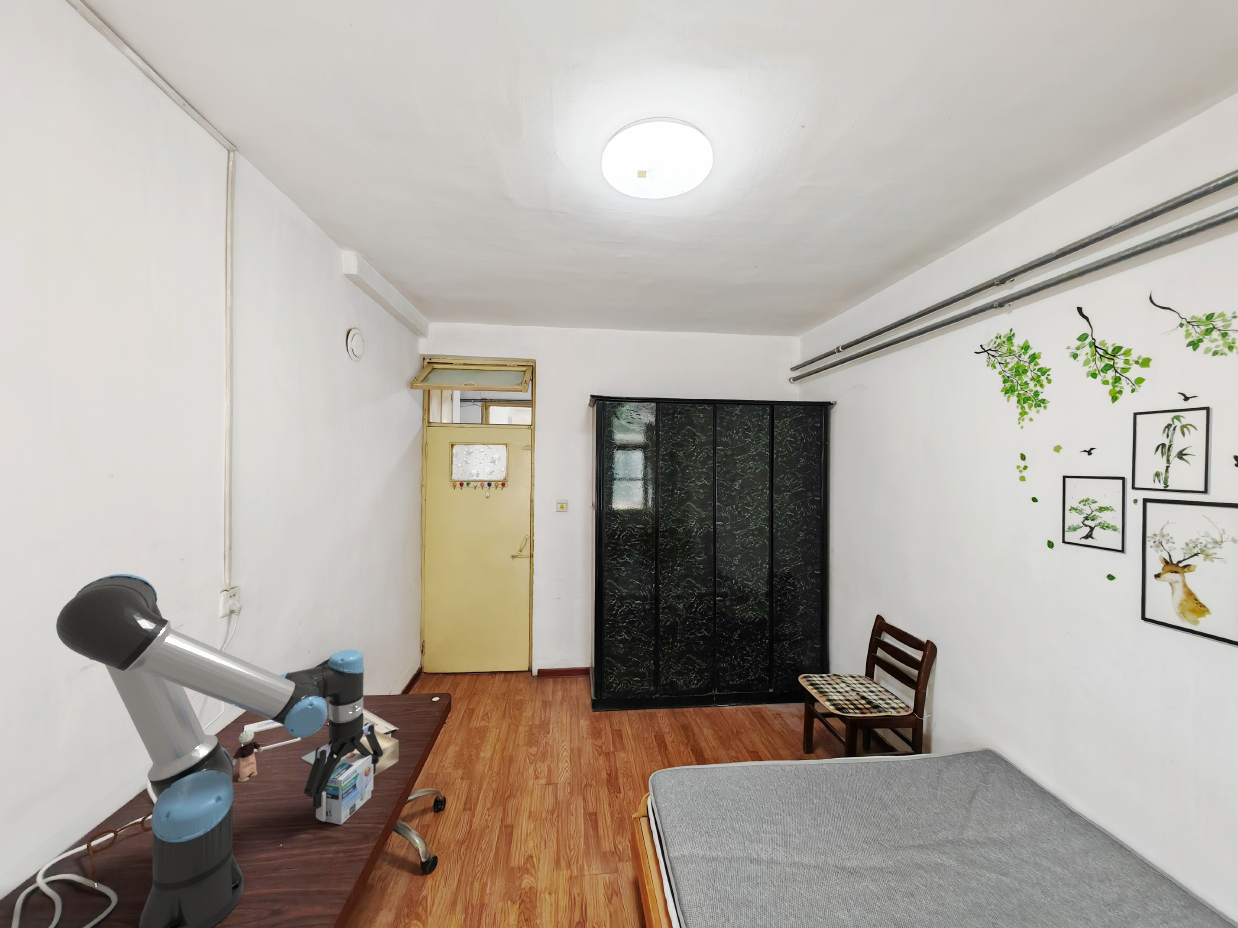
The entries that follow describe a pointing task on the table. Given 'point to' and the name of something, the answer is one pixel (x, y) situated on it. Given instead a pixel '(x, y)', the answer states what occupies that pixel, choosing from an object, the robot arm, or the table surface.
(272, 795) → the table surface
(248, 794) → the table surface
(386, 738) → the beech step
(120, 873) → the table surface
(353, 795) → the light bulb box
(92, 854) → the glasses
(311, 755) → the rubber mat
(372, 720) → the newspaper
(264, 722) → the photo frame
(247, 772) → the grandmother figurine
